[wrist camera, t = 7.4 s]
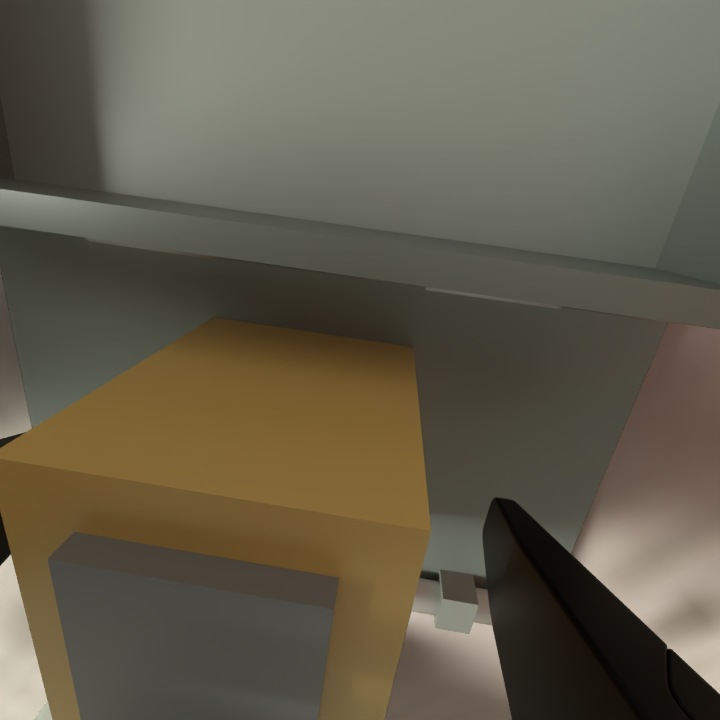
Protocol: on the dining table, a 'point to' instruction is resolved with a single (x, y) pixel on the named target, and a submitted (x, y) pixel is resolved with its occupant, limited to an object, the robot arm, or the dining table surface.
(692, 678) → the robot arm
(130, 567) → the block
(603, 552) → the dining table surface
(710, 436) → the dining table surface
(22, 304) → the lid
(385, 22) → the case
